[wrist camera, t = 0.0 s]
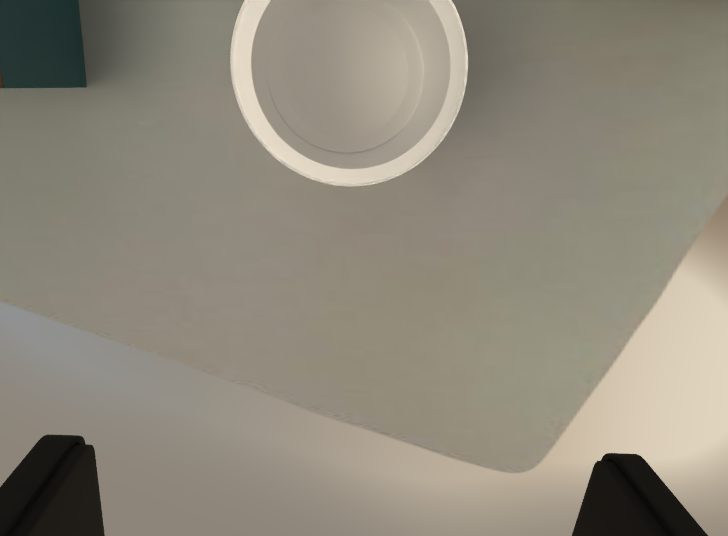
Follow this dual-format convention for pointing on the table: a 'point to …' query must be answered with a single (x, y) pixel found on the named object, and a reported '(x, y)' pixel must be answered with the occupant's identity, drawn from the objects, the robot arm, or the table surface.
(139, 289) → the table surface
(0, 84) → the toy box lid
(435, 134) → the jar
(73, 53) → the toy box
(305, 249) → the table surface
